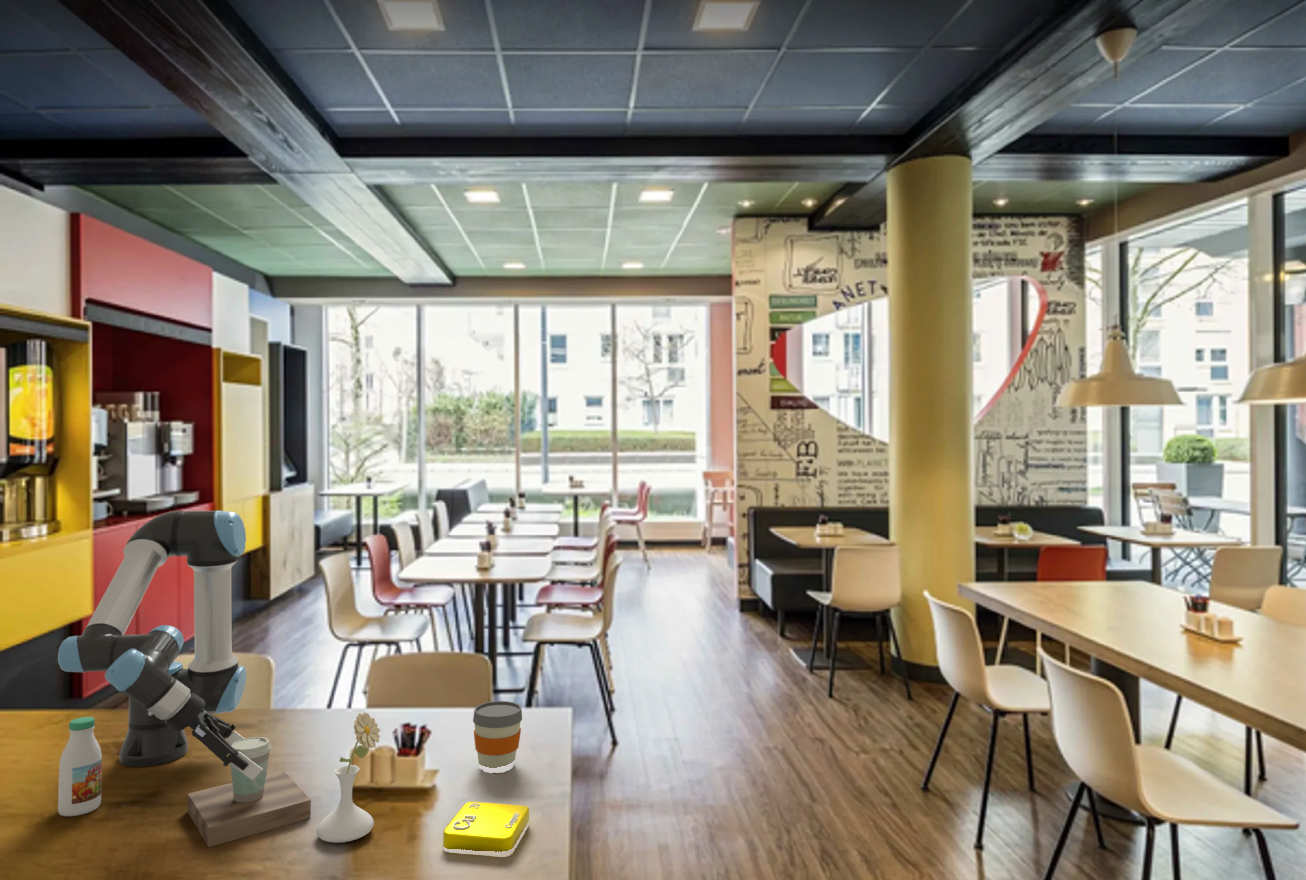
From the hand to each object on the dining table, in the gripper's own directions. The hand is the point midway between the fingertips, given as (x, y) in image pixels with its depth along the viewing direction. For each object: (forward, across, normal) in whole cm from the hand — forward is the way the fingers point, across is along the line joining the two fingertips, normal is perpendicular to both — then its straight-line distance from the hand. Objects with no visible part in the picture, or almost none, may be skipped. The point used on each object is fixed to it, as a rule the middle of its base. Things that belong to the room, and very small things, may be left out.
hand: (254, 763), depth 173 cm
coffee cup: (+5, 0, -6) cm, 8 cm away
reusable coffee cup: (+48, +2, +32) cm, 57 cm away
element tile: (+38, +35, +21) cm, 56 cm away
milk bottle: (-15, -21, -32) cm, 41 cm away
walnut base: (+7, 0, -9) cm, 11 cm away
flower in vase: (+20, +19, +4) cm, 28 cm away
